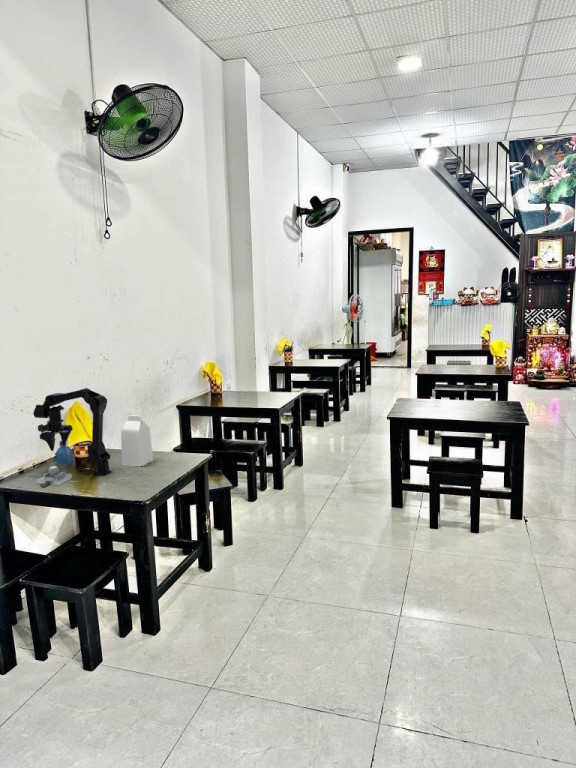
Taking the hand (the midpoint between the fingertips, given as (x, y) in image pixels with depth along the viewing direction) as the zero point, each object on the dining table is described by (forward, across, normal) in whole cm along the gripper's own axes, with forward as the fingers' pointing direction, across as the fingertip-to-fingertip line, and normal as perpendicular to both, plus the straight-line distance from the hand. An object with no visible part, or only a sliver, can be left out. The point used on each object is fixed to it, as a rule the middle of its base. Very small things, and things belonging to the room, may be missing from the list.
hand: (58, 448), depth 272 cm
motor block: (+12, +16, +7) cm, 21 cm away
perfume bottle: (+12, -12, -6) cm, 18 cm away
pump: (+10, +14, +7) cm, 18 cm away
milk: (+12, -18, +34) cm, 40 cm away
